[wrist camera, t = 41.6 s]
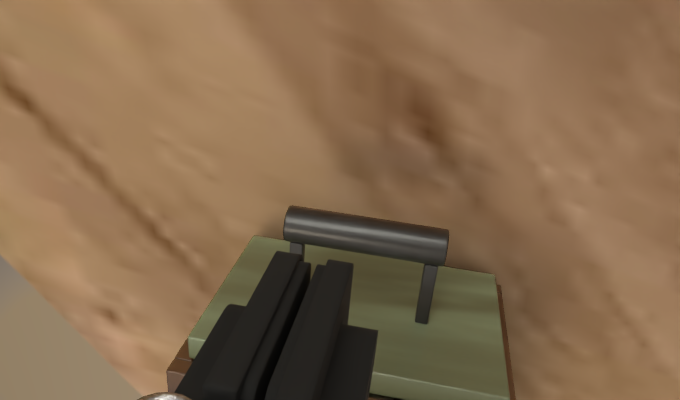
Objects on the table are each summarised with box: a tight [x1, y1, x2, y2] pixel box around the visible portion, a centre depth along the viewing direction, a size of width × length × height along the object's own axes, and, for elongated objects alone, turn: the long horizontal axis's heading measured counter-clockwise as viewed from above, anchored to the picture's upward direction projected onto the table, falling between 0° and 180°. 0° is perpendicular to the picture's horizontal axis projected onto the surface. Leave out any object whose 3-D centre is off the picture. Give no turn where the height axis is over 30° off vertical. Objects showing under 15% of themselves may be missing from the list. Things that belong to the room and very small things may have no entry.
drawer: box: [188, 205, 510, 400], centre depth 29 cm, size 20×13×9 cm, turn 176°
